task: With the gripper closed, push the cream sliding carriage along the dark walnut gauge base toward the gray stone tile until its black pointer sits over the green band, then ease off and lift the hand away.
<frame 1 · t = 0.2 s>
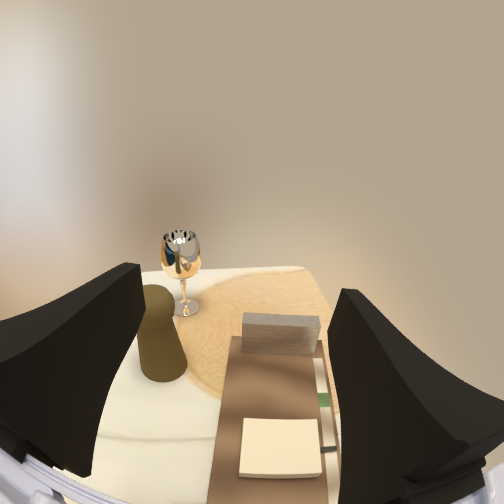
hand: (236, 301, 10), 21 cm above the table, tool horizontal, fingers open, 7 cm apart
wineglass: (185, 308, 42), on the table
gray stone tile: (276, 354, 34), resting on gauge base
gauge base: (277, 439, 23), on the table
carriage: (291, 448, 20), point 2 cm above the table, slide at 0.0 cm
cork: (164, 364, 32), on the table
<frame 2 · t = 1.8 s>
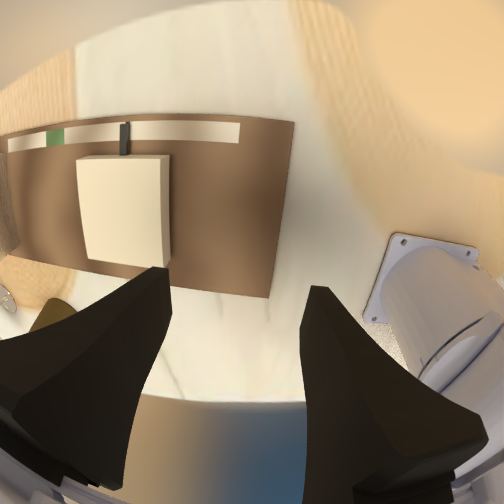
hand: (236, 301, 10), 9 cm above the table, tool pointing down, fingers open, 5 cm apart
wineglass: (6, 297, 25), on the table
gray stone tile: (12, 196, 18), resting on gauge base
gauge base: (112, 199, 18), on the table
carriage: (121, 195, 16), point 2 cm above the table, slide at 0.0 cm
cork: (66, 319, 25), on the table
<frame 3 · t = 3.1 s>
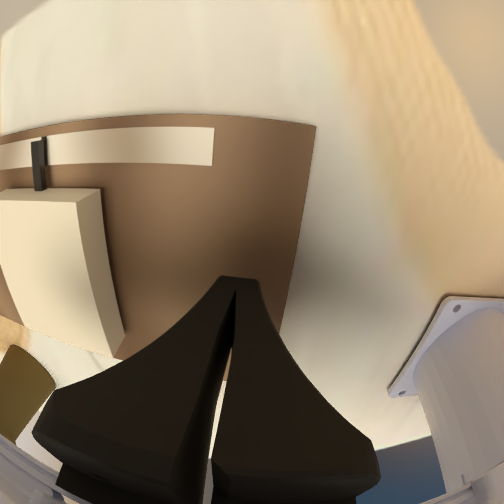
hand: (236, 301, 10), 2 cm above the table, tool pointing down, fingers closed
gauge base: (46, 246, 11), on the table
carriage: (43, 251, 9), point 2 cm above the table, slide at 0.0 cm
cork: (32, 366, 18), on the table
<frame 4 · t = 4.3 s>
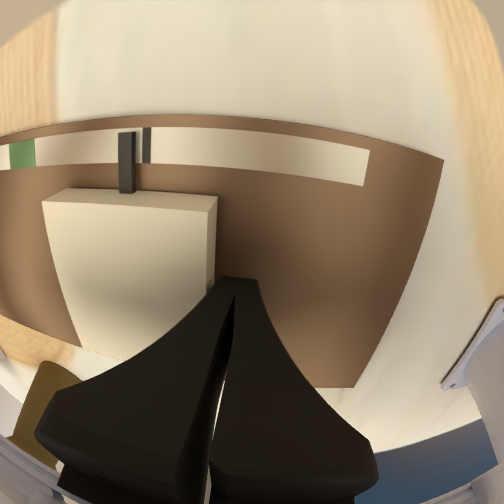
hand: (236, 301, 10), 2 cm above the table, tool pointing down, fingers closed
gauge base: (120, 257, 11), on the table
carriage: (127, 265, 9), point 2 cm above the table, slide at 0.5 cm, touching gripper
cork: (68, 383, 18), on the table
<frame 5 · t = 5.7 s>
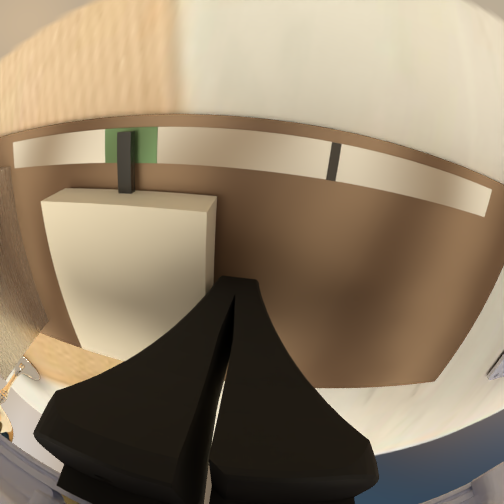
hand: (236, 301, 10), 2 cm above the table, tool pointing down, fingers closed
wineglass: (24, 362, 18), on the table
gray stone tile: (26, 242, 11), resting on gauge base
gauge base: (253, 275, 11), on the table
carriage: (126, 266, 9), point 2 cm above the table, slide at 6.4 cm, touching gripper
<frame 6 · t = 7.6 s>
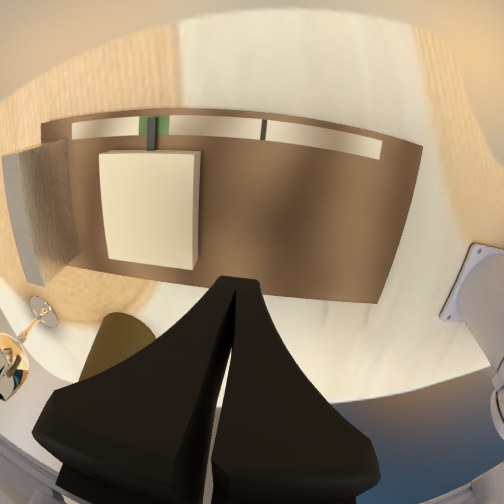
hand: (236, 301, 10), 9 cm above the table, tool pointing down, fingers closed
wineglass: (44, 311, 25), on the table
gray stone tile: (70, 194, 18), resting on gauge base
gauge base: (224, 203, 18), on the table
carriage: (148, 192, 16), point 2 cm above the table, slide at 6.4 cm
cork: (129, 334, 25), on the table
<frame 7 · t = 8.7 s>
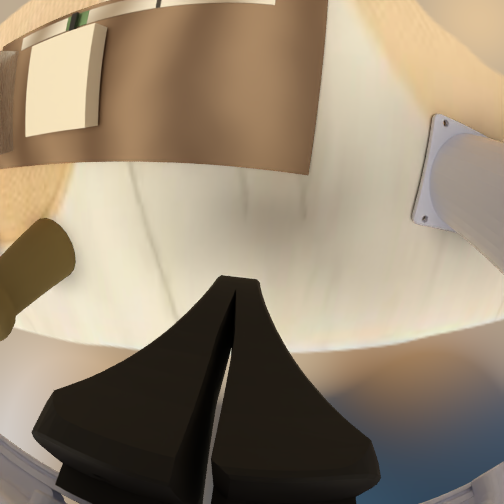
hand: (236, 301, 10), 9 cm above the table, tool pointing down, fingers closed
gray stone tile: (14, 101, 14), resting on gauge base
gauge base: (128, 73, 14), on the table
carriage: (62, 68, 12), point 2 cm above the table, slide at 6.4 cm
cork: (52, 247, 21), on the table
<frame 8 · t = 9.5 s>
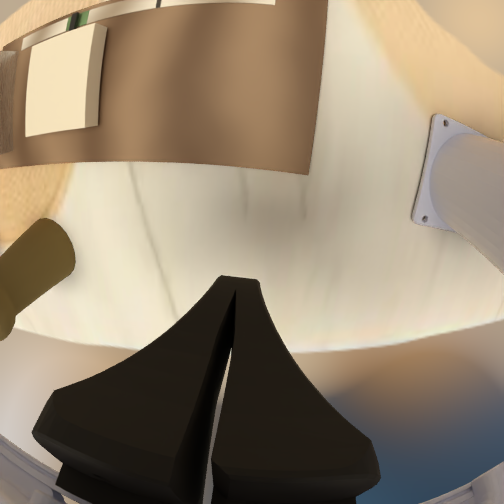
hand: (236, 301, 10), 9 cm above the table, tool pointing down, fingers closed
gray stone tile: (14, 101, 14), resting on gauge base
gauge base: (128, 73, 14), on the table
carriage: (62, 68, 12), point 2 cm above the table, slide at 6.4 cm
cork: (52, 247, 21), on the table
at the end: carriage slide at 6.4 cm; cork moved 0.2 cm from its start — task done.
